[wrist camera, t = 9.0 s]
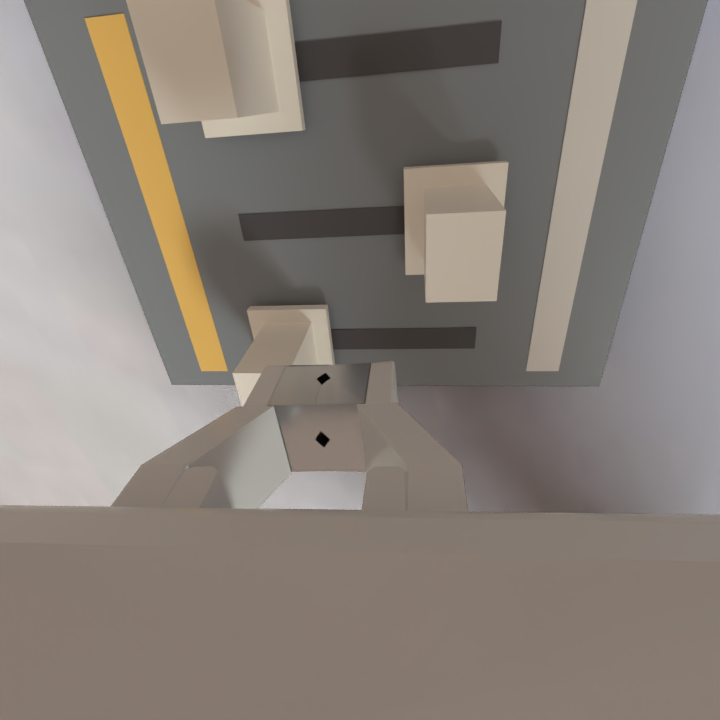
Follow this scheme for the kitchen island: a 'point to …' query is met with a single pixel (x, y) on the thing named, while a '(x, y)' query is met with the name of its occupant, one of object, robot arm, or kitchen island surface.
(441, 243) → the switch mid
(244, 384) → the switch far
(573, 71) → the switch board
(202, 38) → the switch near
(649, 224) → the kitchen island surface
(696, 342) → the kitchen island surface
